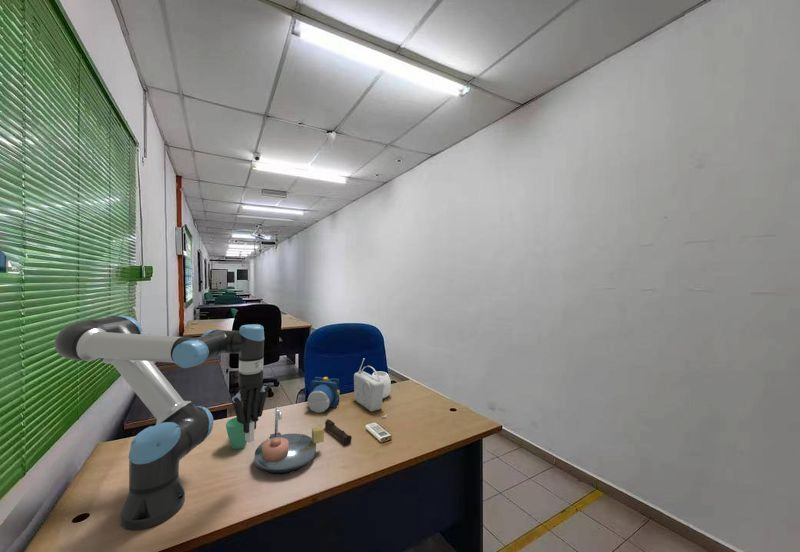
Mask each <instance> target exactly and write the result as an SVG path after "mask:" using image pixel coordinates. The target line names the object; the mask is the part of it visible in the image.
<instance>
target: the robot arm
mask: <svg viewBox="0 0 800 552" xmlns="http://www.w3.org/2000/svg"><path fill="white" fill-rule="evenodd" d="M264 329H265V328H264V326H263V325H261V324H258V323H256V324H255V323H254V324H253V323H252V324H244V325H241V326H240V327H239V330H230V329H229V330H228V329H227V330H226V329H225V330H224V329H209V330H206V331H205V332H204V333H203V334H202V335H201V336H199V337H187V336H185V337H184V336H174V335H173V336H172V335H171V336H170V335H159V334H158V335H156V334H143V333H142V332H143V328H142V326H141V324H140V322H138V321H137V319H135V318H133V317H131V316H127V315H110V316H107V317H103V318H95V319H89V320H87V319H86V320H80V321H76V322H73V323H71V324H68V325H66V326H65V327H63V328H62V329H61V330H60V331H59V332H58V333H57V335H55V336H56V337H55V338H54V348H55V350H56V353H58V354H59V355H60V356H61V357H63V358H65V359H67V360H71V361H84V362H92V361H96V360H97V359H98V360H101V362H102V363H103V364H108V365H109V364H111V365H112V366H113V367H114V368H115V369H116V371H117V372H118V373H119V374H120V375H121V377H122V378H123V380H125V382H126V383H127V384H128V386H129V387H131V388H130V389H132V391H134V393H135V394H136V396H137V397H138V398H139V399H140V400H141V402H142V403H143V404H144V406H145V407H146V408H147V409H148V410H149V412H150V413H151V414H152V415H153V417H154V418H155V419H156V422H155V425H150V426H148V427H146V428H144V429H142V430H141V431H140V432H138V433H137V434H136V435H135V436H134V438H133V439H132V441H131V443H130V448H129V453H128V459H129V462H128V463H129V464H128V466H129V469H128V470H129V471H128V476H129V477H128V492H127V495H126V498H125V499H124V502H123V505H122V507H121V510H120V514H119V525H120V526H121V527H122V528H123V529H126V530H129V531H131V530H132V531H139V530H144V529H147V528H148V529H149V528H152V527H155V526H157V525H159V524H161V523H163V522H166V521H167V520H169V519H170V518H171V517H173V516H174V515H175V514H177V513H178V512H179V511H180V510H181V509H182V507H183V506H184V505H185V501H186V492H185V489H184V486H183V484H182V482H181V479H180V476H179V475H180V474H179V471H180V462H181V460H182V459H183V458H185V456H187V455H189V454H190V453H191V452H192V451H193V450H194V449H195V448H196V447H197V446H199V445H201V443H203V442H205V440H206V439H207V438H208V437H209V436H210V434H211V433H212V431H213V427H214V417H213V414H212V413H211V410H209V409H208V408H207V407H205V406H201V405H200V406H198V405H197V406H196V405H195V404H194V403H193V401H191V400H184V399H183V397H182V396H181V395H180V394H179V393H178V392H177V390H176V389H175V388H174V387H173V385H172V384H171V382H170V381H168V379H167V378H166V377H165V375H164V374H163V373H162V372H161V371H160V369H159V368H158V367H157V365H156V364H155V363H154V362H157V363H174V364H175V365H176V366H178V367H180V368H183V369H190V368H193V367H197V366H199V365H201V364H203V363H204V362H207V361H210V360H211V359H213V358H215V357H216V358H217V357H218V356H220V355H222V354H238V372H239V373H238V390H237V393H236V394H235V395H233V396H231V397H230V401H231V402H232V404H233V407H234V412H235V416H236V417H237V421H238V422H239V423H241V424H243V431H244V433H245V441H247V443H249V444H250V443H252V442H254V441H255V430H256V428H257V422H258V421H259V419H260V417H262V415H263V412H264V407H265V404H266V403H265V402H266V397H267V394H268V392H269V390H270V387H269V386H266V385H264V383H263V381H264V370H263V369H264V358H265V356H264V353H265V351H264V348H265V331H264ZM250 419H251V420H250Z"/></svg>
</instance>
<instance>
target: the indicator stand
mask: <svg viewBox="0 0 800 552" xmlns="http://www.w3.org/2000/svg"><path fill="white" fill-rule="evenodd" d="M274 414H275V415H274V416H275V417H274V418H275V419H274V433H270V434H269V435H270V437H269V439H270V438H273V437H275V436H279V435H282V434H281V432H280V431H279V421H280V420H282V418H283V414H282V411H280V410H279V406H276V407H275V412H274Z"/></svg>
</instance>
